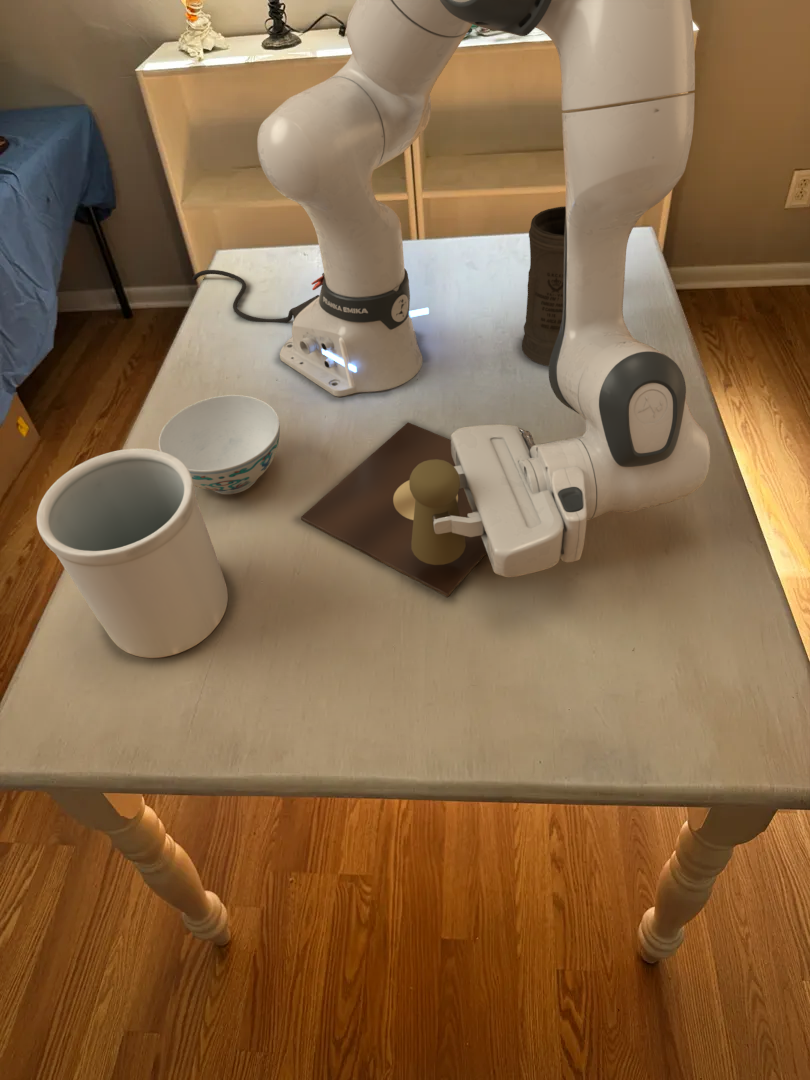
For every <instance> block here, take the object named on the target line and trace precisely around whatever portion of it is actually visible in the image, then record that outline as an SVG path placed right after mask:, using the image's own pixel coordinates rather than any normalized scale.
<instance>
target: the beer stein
mask: <svg viewBox="0 0 810 1080" xmlns="http://www.w3.org/2000/svg"><path fill="white" fill-rule="evenodd" d="M565 216H566V205H564V206H557V207H552V208H546V209H544V210H542V211H540V212H538V213H537V214H535V215H534V216H533V217H532V219H531V221H530V228H529V231H528V238H529V254H530V259H529V262H530V265H529V270H528V275H527V277H528V278H527V279H528V280H527V294H526V295H527V296H526V297H527V298H526V312H525V322H524V325H523V333H524V334H523V337H522V340H521V351H522V352H523V354H524V355H525V356H526V358H528V359H529V360H531V361H532V362H534V363H536V364H537V365H542V366H546V367H549V363H550V358H551V354H552V351H553V348H554V345H555V343H556V340H557V337H558V334H559V331H560V327H561V322H562V315H563V281H564V234H565Z"/></svg>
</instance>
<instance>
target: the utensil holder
mask: <svg viewBox="0 0 810 1080" xmlns="http://www.w3.org/2000/svg"><path fill="white" fill-rule="evenodd" d="M36 527H37V531H38V532H39V535H40V537H41V540H42V541H43V542H44V544H45V545H46V546H47V547H48V548H49V550H50V551H52V552H53V553H54V554H55V556H56V557H57V559H58V560H59V562H60V564H61V565H62V567H63V568H64V569H65V571H66V573H67V575H68V576H69V577H70V579H71V580H72V582H73V583H74V585H75V586H76V588H77V590H78V592H79V593H80V594H81V596H82V597H83V599H84V600H85V602H86V604H87V606H88V607H89V609H90V610H91V612H92V613H93V615H94V616H95V618H96V619H97V621H98V622H99V624H100V625H101V626H102V627H103V629H104V630H105V631H104V632H106V634H107V635H108V637H109V638H110V639H111V640H112V642H113V643H114V644H115V645H116V646H117V647H118V648H119V649H120V650H122V651H123V652H125V653H127V654H129V655H132V656H134V657H135V656H136V657H138V658H139V657H140V658H148V659H158V658H159V659H160V658H166V657H170V656H175V655H178V654H180V653H183V652H185V651H187V650H190V649H192V648H193V647H196V646H197V645H198V644H200V643H201V642H203V641H204V640H205V639H207V638H208V637H209V636H210V635H211V634H212V633H213V631H214V630H215V629H216V628H217V627H218V625H219V624H220V623H221V621H222V620H223V617H224V615H225V613H226V610H227V606H228V600H229V594H228V592H229V591H228V587H227V584H226V580H225V577H224V574H223V570H222V568H221V564H220V561H219V559H218V556H217V553H216V550H215V548H214V545H213V542H212V540H211V536H210V534H209V531H208V527H207V525H206V522H205V519H204V517H203V514H202V511H201V508H200V505H199V502H198V499H197V496H196V486H195V485H194V482H193V479H192V476H191V474H190V472H189V470H188V469H187V467H186V466H185V465H184V464H183V463H182V462H181V461H180V460H179V459H177V458H176V457H174V456H172V455H170V454H168V453H165V452H162V451H160V450H157V449H153V448H143V447H141V448H139V447H138V448H135V447H134V448H126V449H120V450H119V449H118V450H114V451H110V452H106V453H103V454H100V455H97V456H94V457H92V458H89V459H87V460H85V461H83V462H81V463H79V464H77V465H75V466H74V467H73V468H71V469H69V470H68V471H67V472H65V473H64V474H62V475H61V476H60V477H59V478H58V479H56V480H55V482H54V483H53V484H52V485H51V486H50V487H49V489H47V490H46V492H45V494H44V495H43V497H42V499H41V501H40V503H39V505H38V508H37V513H36Z"/></svg>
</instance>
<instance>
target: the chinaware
mask: <svg viewBox="0 0 810 1080" xmlns="http://www.w3.org/2000/svg"><path fill="white" fill-rule="evenodd" d="M280 425H281V423H280V418H279V415H278V413H277V411H276V410H275V408H273V407H272V405H270V403H268V402H266V401H264V400H262V399H259V398H257V397H254V396H250V395H243V394H225V395H217V396H211V397H209V398H205V399H201V400H198V401H196V402H194V403H192V404H190V405H187V406H186V407H183V408H182V409H181V410H179V411H178V412H177V413H175V414H174V415H172V417H170V418H169V420H168V421H167V422H166V423H165V424H164V426H163V428H161V431H160V434H159V437H158V448H159V451H162V452H165V453H168V454H170V455H172V456H174V457H176V458H177V459H179V460H180V461H181V462H182V463H183V464H184V465H185V466H186V467H187V469H188V470H189V472H190V474H191V476H192V479H193V482H194V486H195V487H197V488H200V489H203V490H205V491H206V490H207V491H211V492H215V493H217V494H221V495H234V494H239V493H241V492H244V491H246V490H248V489H250V488H251V487H252V486H253V485H254V484H255V483H256V482H257V480H258V479H259V478H260V477H261V476H262V475H263V474H264V473H265V472H266V471H267V470H268V468H269V467H270V465H271V464H272V462H273V461H274V458H275V456H276V453H277V451H278V447H279V443H280V442H279V441H280V433H281V426H280Z"/></svg>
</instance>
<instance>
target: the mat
mask: <svg viewBox="0 0 810 1080" xmlns="http://www.w3.org/2000/svg"><path fill="white" fill-rule="evenodd" d="M435 459H438V460H444V461H446V462H448V463H450V464H451V465H452V466H453V467H454V466H455V463H454V460H453V457H452V454H451V438H448V437H444V436H442V435H440V434H437V433H435V432H433V431H430V430H428V429H426V428H423V427H420V426H419V425H416V424H413V423H411V422H406V423H405V424H404V425H402V427H401V428H400V429H398V431H396V432H395V433H393V435H392V436H391V437H389V438H388V439H387V440H386V441H385V442H384V443H382V445H380V446H379V447H378V448H377V449H376V450H375V451H374V452H373V453H371V454H370V455H369V456H368V457H367V458H366V459H365V460H364V461H362V462H361V463H360V464H359V465H358V466H356V468H354V469H353V470H352V471H351V472H350V473H348V475H347V476H345V477H344V478H343V479H342V480H341V481H340V482H338V484H337V485H335V486H334V487H333V488H332V489H330V490H329V491H328V492H327V493H326V494H325V495H323V497H321V499H319V500H318V501H317V502H316V503H315V504H314V505H312V506H311V507H310V508H309V509H308V510H307V511H306V512H305V513H304V514H302V515H301V516H300V520H301V521H302V522H304V523H306V524H308V525H310V526H312V527H314V528H316V529H318V530H319V531H321V532H323V533H325V534H327V535H329V536H331V537H333V538H334V539H337V540H338V541H340V542H342V543H344V544H346V545H348V546H350V547H352V548H353V549H356V550H357V551H359V552H361V553H363V554H365V555H367V556H369V557H371V558H373V559H375V560H376V561H378V562H380V563H382V564H384V565H386V566H388V567H389V568H391V569H394V570H395V571H397V572H399V573H401V574H403V575H404V576H407V577H409V578H411V579H413V580H414V581H416V582H418V583H420V584H422V585H424V586H426V587H428V588H430V589H431V590H433V591H435V592H437V593H439V594H441V595H443V596H445V597H447V598H448V597H449V596H450V595H451V594H452V593H453V592H454V590H455V589H457V587H458V586H459V585H460V584H461V583H462V582H463V580H465V578H466V577H467V576H468V575H469V574H470V572H471V571H473V569H474V568H475V567H476V566H477V565H478V563H480V562H481V560H482V559H483V558H484V557H485V556H486V555H487V551H486V548H485V546H484V543H483V540H482V537H481V535H479V536H474V537H468V536H464V537H465V544H466V547H465V549H464V552H463V553H462V555H461V556H460V557H459V558H458V559H456V560H454V561H453V562H450V563H447V564H443V565H433V564H427V563H425V562H423V561H421V560H419V559H418V558H417V557H416V556H415V555H414V553H413V551H412V545H411V542H412V531H413V520H414V509H415V499H414V497H413V495H412V493H411V491H410V486H409V479H410V475H411V473H412V471H413V470H414V468H415V467H416V466H417V465H418V464H420V463H422V462H424V461H427V460H435ZM456 500H457V505H458V509H459V514H460V517H466V518H467V514H468V513H472V510H471V507H470V504H469V502H468V499H467V496H466V493H465V490H464V488H460V489H459V491H458V494H457V496H456Z"/></svg>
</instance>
